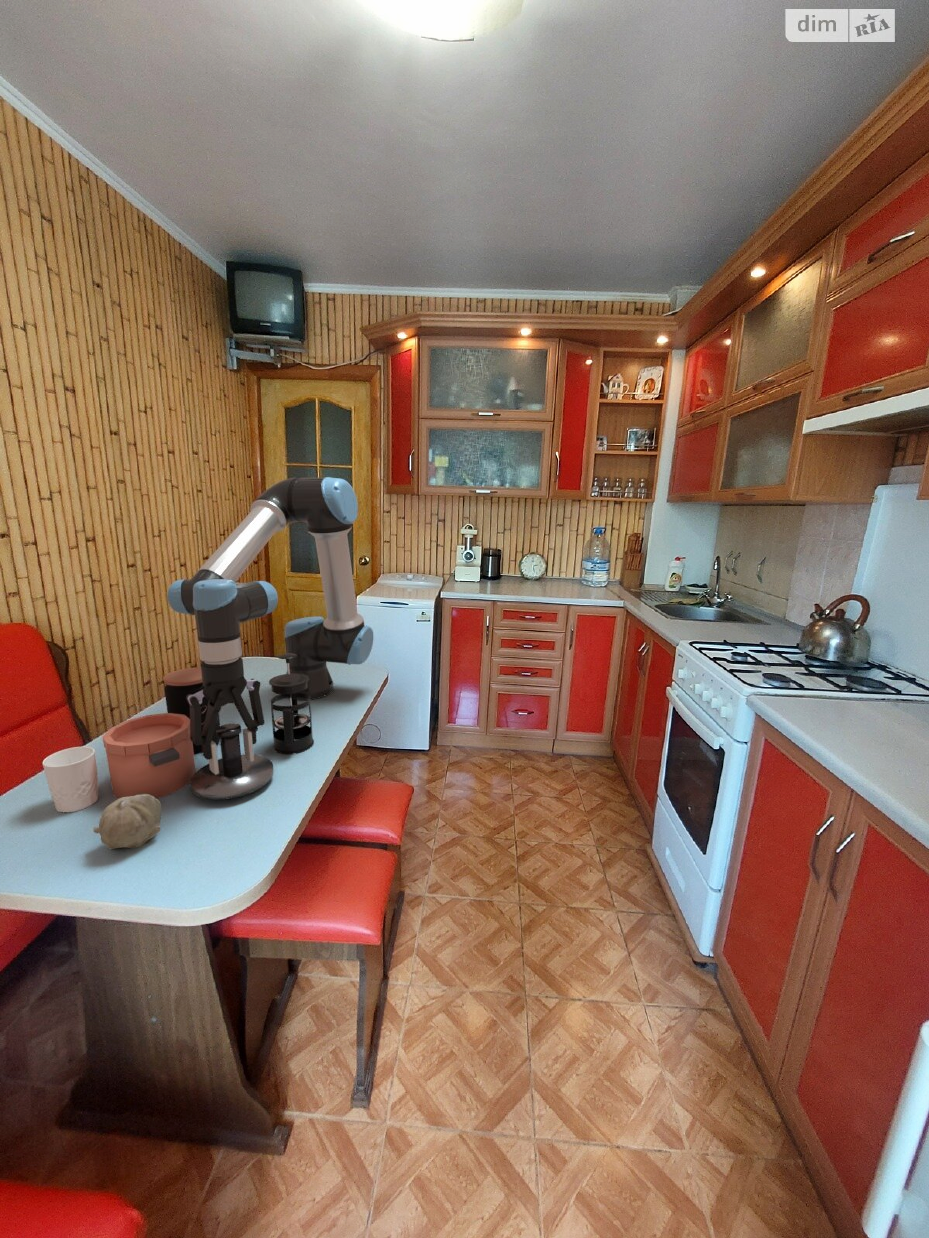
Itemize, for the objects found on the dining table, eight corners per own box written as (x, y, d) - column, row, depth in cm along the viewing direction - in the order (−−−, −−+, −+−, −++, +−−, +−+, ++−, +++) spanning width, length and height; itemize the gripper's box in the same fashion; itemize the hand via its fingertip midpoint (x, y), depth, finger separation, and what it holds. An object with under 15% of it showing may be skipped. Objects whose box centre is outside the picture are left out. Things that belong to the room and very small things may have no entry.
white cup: (74, 790, 101) (65, 745, 99) (112, 792, 101) (104, 746, 99) (40, 814, 94) (30, 766, 91) (81, 815, 94) (72, 767, 91)
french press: (277, 736, 126) (270, 649, 121) (316, 733, 128) (310, 647, 122) (268, 759, 115) (260, 664, 109) (311, 756, 116) (305, 662, 111)
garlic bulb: (163, 842, 90) (179, 791, 90) (134, 868, 82) (151, 812, 81) (112, 827, 90) (128, 775, 89) (77, 851, 81) (94, 794, 81)
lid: (254, 758, 115) (250, 706, 112) (287, 784, 105) (283, 728, 102) (180, 784, 104) (173, 728, 101) (209, 817, 94) (202, 754, 91)
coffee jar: (201, 757, 115) (192, 684, 111) (161, 752, 117) (151, 680, 113) (231, 737, 125) (224, 668, 121) (194, 732, 127) (185, 665, 123)
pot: (101, 775, 107) (92, 723, 104) (177, 751, 118) (171, 703, 115) (128, 818, 93) (118, 759, 90) (212, 786, 104) (206, 733, 101)
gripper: (261, 645, 108) (269, 743, 113) (160, 665, 94) (174, 776, 99) (277, 652, 103) (285, 755, 108) (173, 674, 89) (188, 791, 94)
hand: (232, 764), depth 103 cm, fingers open, 6 cm apart
